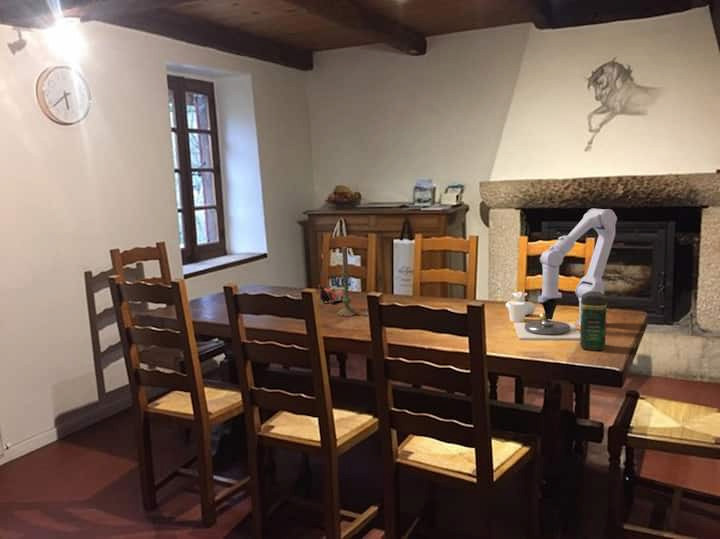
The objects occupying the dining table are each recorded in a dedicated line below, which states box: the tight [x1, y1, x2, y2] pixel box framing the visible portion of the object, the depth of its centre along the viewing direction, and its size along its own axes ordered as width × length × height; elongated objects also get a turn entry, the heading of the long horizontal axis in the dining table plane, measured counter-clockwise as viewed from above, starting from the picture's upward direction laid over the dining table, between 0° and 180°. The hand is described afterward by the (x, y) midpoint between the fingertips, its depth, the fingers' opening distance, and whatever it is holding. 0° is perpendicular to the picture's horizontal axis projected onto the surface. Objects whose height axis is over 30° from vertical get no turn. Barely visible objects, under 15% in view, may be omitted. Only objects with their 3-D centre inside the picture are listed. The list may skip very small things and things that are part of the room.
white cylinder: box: [507, 301, 526, 323], centre depth 247 cm, size 7×7×7 cm
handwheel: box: [525, 312, 570, 334], centre depth 227 cm, size 16×16×4 cm
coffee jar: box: [579, 291, 607, 351], centre depth 205 cm, size 10×8×19 cm
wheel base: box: [513, 322, 581, 341], centre depth 228 cm, size 22×22×1 cm
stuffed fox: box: [318, 285, 345, 303], centre depth 298 cm, size 8×11×12 cm
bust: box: [505, 290, 536, 316], centre depth 255 cm, size 12×8×11 cm
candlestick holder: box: [337, 246, 357, 315], centre depth 268 cm, size 9×9×30 cm
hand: (549, 319), depth 231 cm, fingers closed, pressing on handwheel
